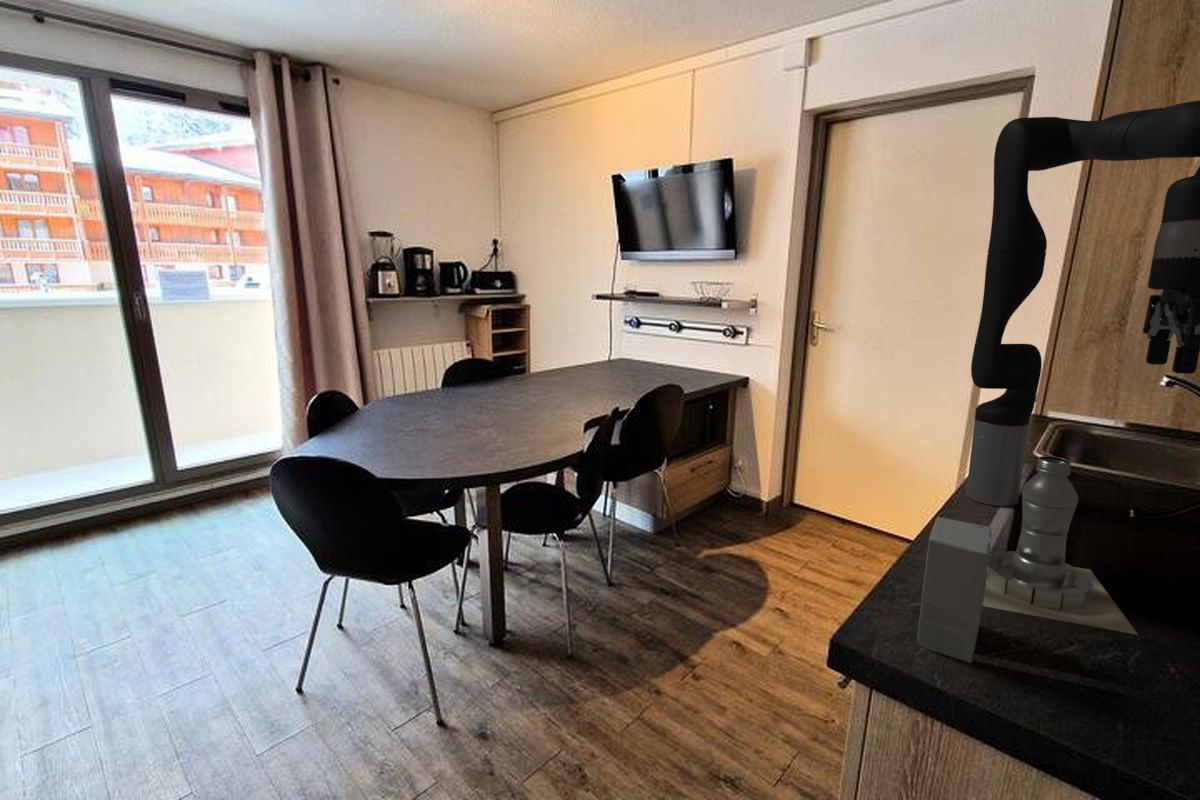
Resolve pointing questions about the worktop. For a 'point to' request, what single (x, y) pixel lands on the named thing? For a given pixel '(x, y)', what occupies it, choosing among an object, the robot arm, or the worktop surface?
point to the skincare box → (954, 588)
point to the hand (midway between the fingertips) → (1168, 368)
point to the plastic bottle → (1045, 524)
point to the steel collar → (1037, 594)
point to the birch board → (1093, 614)
